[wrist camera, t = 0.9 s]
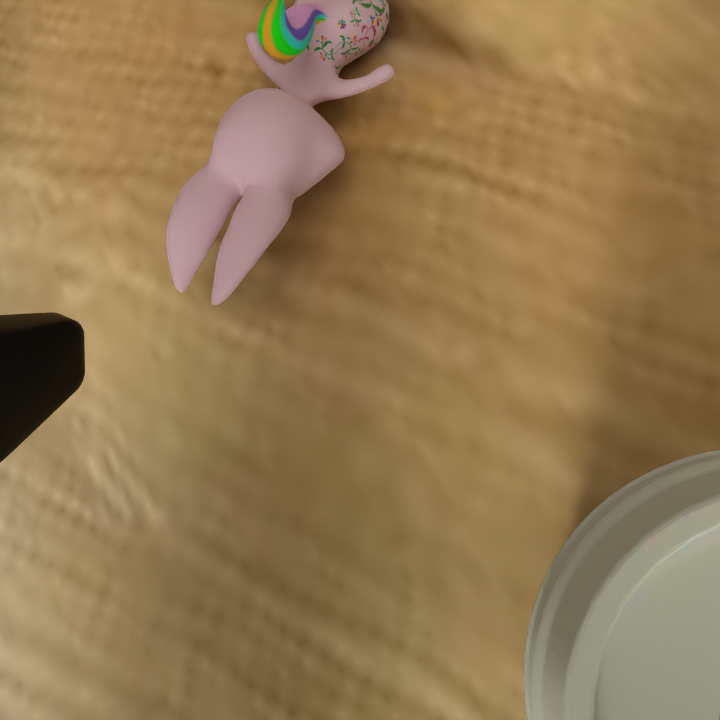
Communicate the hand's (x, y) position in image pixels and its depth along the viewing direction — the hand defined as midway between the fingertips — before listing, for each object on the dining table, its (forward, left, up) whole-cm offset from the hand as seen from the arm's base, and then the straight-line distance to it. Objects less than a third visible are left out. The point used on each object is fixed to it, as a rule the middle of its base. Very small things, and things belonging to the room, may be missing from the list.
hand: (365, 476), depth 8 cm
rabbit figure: (+13, +7, -15) cm, 21 cm away
